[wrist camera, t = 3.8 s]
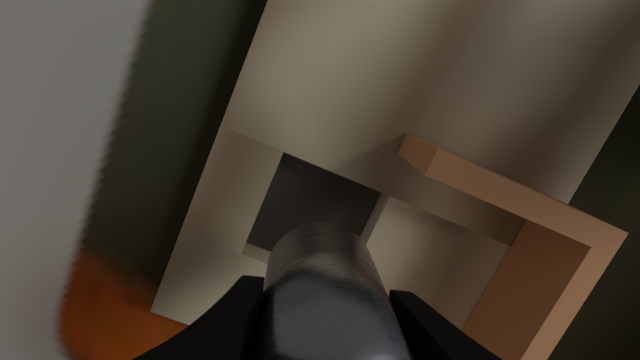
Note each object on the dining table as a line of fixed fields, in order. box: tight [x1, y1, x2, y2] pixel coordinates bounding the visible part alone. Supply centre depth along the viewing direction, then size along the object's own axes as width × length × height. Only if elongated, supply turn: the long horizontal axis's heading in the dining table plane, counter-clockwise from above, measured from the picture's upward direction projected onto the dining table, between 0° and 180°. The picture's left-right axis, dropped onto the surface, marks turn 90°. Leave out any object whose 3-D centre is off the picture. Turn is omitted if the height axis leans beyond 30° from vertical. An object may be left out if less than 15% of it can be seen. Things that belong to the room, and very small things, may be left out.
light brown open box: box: [397, 133, 628, 360], centre depth 17 cm, size 8×11×4 cm
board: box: [150, 0, 640, 331], centre depth 19 cm, size 16×22×2 cm
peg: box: [251, 222, 415, 360], centre depth 11 cm, size 4×4×6 cm
